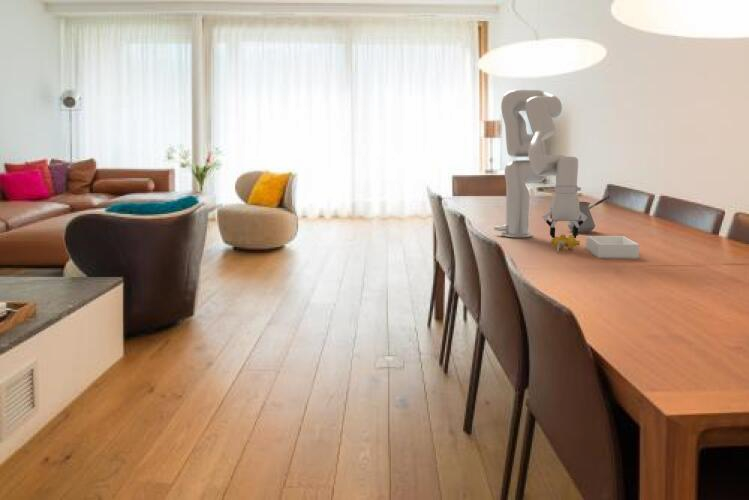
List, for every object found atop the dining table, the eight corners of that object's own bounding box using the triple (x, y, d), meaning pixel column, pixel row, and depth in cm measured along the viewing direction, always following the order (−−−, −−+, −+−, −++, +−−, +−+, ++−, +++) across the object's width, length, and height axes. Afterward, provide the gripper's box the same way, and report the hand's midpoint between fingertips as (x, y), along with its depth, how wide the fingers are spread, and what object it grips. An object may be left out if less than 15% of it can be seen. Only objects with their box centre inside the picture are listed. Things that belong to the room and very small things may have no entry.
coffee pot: (579, 234, 261) (581, 199, 259) (561, 230, 272) (563, 197, 269) (618, 231, 269) (620, 197, 267) (599, 227, 280) (601, 194, 277)
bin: (598, 258, 212) (599, 244, 211) (585, 248, 229) (586, 235, 228) (638, 258, 211) (639, 244, 210) (622, 249, 228) (623, 236, 227)
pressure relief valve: (551, 246, 233) (579, 247, 229) (548, 257, 222) (577, 259, 219) (552, 232, 231) (580, 233, 228) (549, 242, 220) (578, 244, 217)
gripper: (587, 189, 229) (584, 236, 232) (540, 189, 230) (538, 235, 234) (592, 191, 222) (589, 239, 225) (543, 191, 223) (541, 239, 226)
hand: (563, 237), depth 229 cm, fingers closed on pressure relief valve, 7 cm apart
